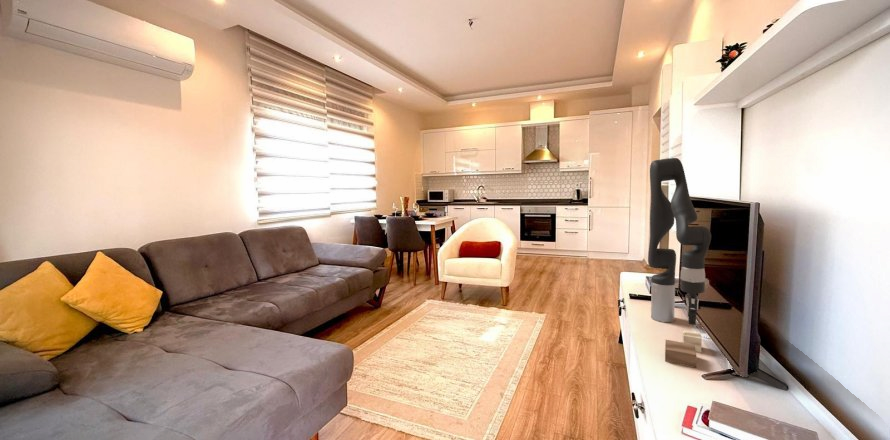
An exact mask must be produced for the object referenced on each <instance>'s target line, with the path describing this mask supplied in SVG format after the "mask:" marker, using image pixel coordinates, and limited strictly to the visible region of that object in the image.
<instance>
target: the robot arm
mask: <svg viewBox="0 0 890 440" xmlns="http://www.w3.org/2000/svg"><path fill="white" fill-rule="evenodd" d="M668 181H674V182H675V190H674V192H673V195H672V198H671V200H670V199H668V197H667V196H666V194H665V193H664V191H663V188H662V182H668ZM649 182H650V185H649V186H650V209H649V210H650V211H649V243H648V253H647V255H648V256H647V262H648V266H649V267H650V268H652V269H664V270H665V271H663V272H660V273H656V274H654V275H651V281H650V282H651V290H650V291H651V292H650V295H651V298H650V299H651V303H650V305H651V306H650V309H651V310H650V318H651V319H652V320H654V321H657V322H662V323H673V322H675V308H676V307H675V304H676V303H675V301H676V300H675V299H676V295H675V294H676V264H677V252H676V251H675V250H674V248H658V247H659V244H660V243H661V241H662V240H663V238H664V237H665V236H666V235H667V234H668V233H669V232H670V230H672V228H673V226H674V224H675V230H676V231H675V234H676V240H677V241H678V242H679V244H681V245H683V246H692V249H690V250H685V251H683V252H682V253H681V270H680V284H679V285H680V290H681V291H682V292H685V293H687V294H685V302H686V309H687V317H688V324H689V325H690V326H691V325H693V326H696V324H697V315H698V310H699V301H700V298H699V295H697V294H703V293H705V291H706V271H705V269H706V268H705V262H706V260H705V259H706V258H705V257H706V256H707V252H708V249H709V246H710V245H711V240H712V233H711V231H710V229H709V228H707V227H706V226H704V225H703V226H702V225H701V226H700V225H697V226H695V225H694V226H689V225H690V224H693V223H695V222H696V221H697V220H698V214H697V212H696V210H695V207H694V204H693V203H692V199H691V196H690V193H689V189H688V187H689V186H688V183H687V178H686V174H685V170H684V166H683V163H682V161H681V159H680V158H678V157H670V158H661V159H655V160H653V161H652V162H651V163H650V165H649Z"/></svg>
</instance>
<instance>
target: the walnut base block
mask: <svg viewBox="0 0 890 440" xmlns="http://www.w3.org/2000/svg"><path fill="white" fill-rule="evenodd" d="M664 346H665V347H664V348H665V349H664V350H665V351H664V355H665V356H664V362H666V363H671V364H676V365H682V366H686V367H692V368H697V352H696V349H695V345H694V344H688V343H683V341H675V340H670V339H665V345H664Z"/></svg>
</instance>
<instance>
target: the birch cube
mask: <svg viewBox="0 0 890 440" xmlns="http://www.w3.org/2000/svg"><path fill="white" fill-rule="evenodd" d="M702 339H703V338H702V334H701V332H697V331H690V330H683V331H682V343H688V344H694V345H695V349H696V353H702Z"/></svg>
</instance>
